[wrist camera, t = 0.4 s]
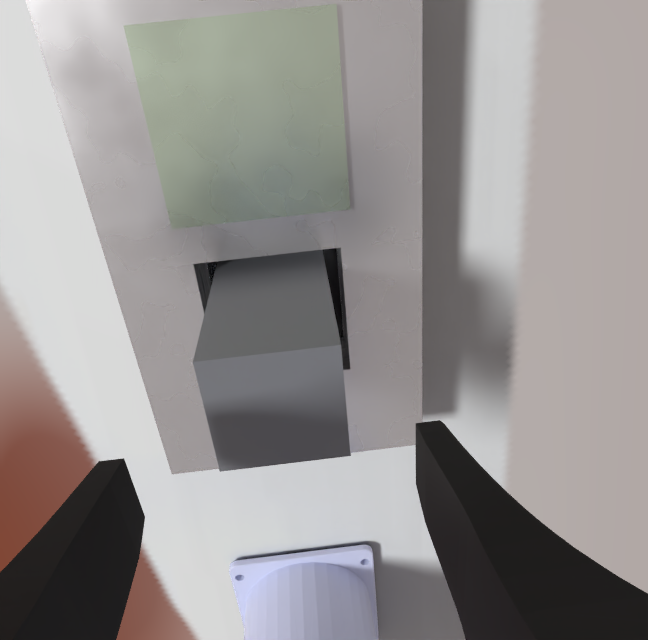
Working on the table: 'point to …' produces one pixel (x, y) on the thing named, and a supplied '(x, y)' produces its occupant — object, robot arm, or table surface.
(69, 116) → the plate
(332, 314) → the grey rectangular block
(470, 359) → the table surface
